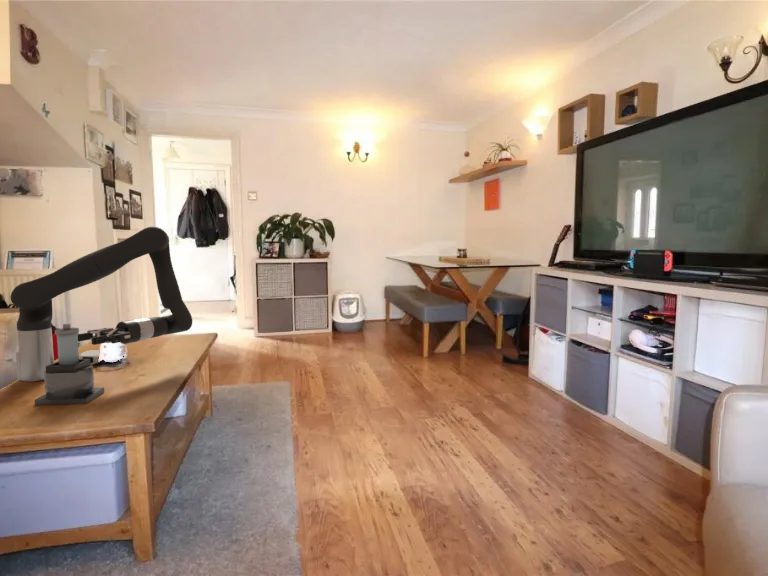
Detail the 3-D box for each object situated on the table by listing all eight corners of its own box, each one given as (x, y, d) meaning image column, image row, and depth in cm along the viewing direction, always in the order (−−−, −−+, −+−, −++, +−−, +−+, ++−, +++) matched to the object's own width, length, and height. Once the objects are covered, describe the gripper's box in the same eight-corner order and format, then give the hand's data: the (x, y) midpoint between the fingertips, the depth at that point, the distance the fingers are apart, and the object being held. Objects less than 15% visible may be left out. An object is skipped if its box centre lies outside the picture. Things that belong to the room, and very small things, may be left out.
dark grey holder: (32, 406, 127) (29, 368, 126) (62, 389, 141) (60, 356, 140) (84, 404, 129) (82, 367, 128) (109, 388, 143) (107, 355, 141)
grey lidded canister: (52, 371, 130) (49, 326, 128) (64, 366, 136) (62, 322, 134) (74, 371, 130) (71, 325, 129) (85, 366, 136) (82, 322, 135)
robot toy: (128, 360, 180) (86, 359, 176) (129, 349, 180) (86, 348, 176) (118, 368, 168) (73, 368, 164) (119, 357, 168) (73, 356, 164)
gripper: (122, 317, 153) (70, 325, 139) (148, 321, 147) (96, 330, 132) (123, 339, 154) (72, 348, 140) (149, 343, 147) (98, 354, 133)
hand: (84, 339), depth 136 cm, fingers open, 8 cm apart
